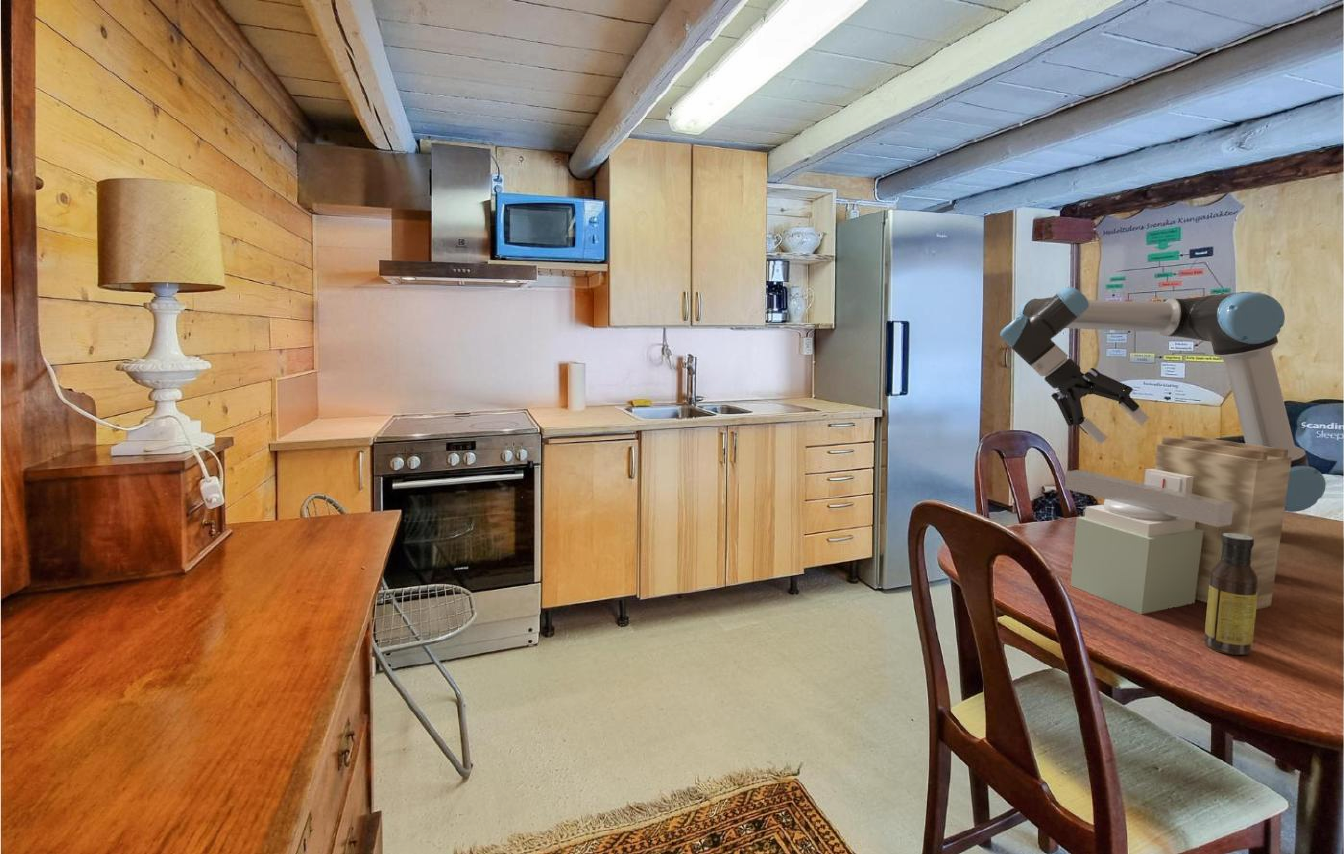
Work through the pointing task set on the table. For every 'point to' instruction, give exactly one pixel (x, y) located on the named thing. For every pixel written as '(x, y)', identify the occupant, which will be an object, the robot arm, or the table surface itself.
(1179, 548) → the block
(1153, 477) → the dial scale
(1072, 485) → the bar
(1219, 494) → the birch stand
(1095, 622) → the table surface
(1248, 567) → the sauce bottle
